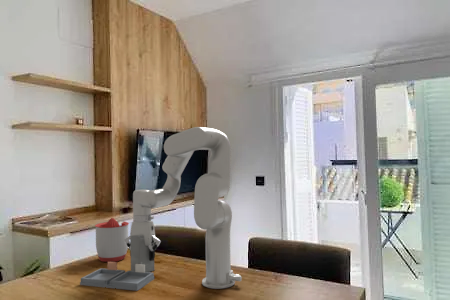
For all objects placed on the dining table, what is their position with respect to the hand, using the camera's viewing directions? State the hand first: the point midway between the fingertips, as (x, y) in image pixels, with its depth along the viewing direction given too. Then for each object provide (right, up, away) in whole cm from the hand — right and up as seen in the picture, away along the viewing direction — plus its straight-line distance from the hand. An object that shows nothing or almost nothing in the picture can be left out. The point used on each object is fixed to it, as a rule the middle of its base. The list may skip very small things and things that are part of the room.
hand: (142, 259), depth 151 cm
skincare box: (0, -5, 0) cm, 5 cm away
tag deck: (-7, -5, -13) cm, 15 cm away
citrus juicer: (-19, -6, +20) cm, 28 cm away
